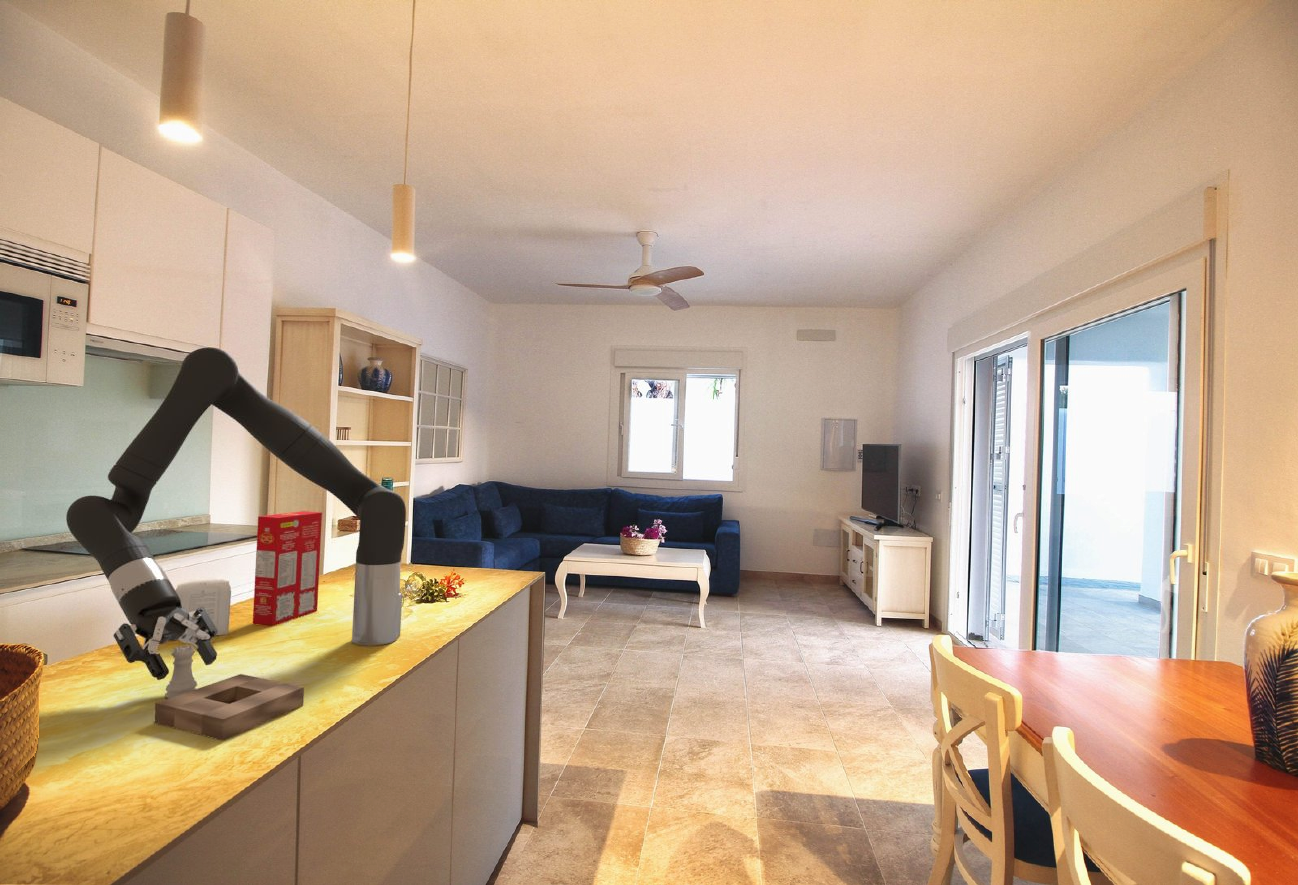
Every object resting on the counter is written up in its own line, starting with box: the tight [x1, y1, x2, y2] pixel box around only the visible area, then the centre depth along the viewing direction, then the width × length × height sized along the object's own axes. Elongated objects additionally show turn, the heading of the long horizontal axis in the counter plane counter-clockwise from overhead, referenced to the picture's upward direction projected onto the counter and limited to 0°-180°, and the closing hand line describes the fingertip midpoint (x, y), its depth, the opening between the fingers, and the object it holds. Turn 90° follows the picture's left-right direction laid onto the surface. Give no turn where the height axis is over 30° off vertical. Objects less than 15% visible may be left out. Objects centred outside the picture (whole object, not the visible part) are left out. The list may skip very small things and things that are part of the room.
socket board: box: [153, 673, 305, 741], centre depth 102 cm, size 14×14×3 cm
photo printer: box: [175, 577, 232, 638], centre depth 140 cm, size 10×4×12 cm, turn 123°
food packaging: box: [252, 510, 323, 627], centre depth 157 cm, size 15×5×25 cm, turn 169°
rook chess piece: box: [164, 644, 198, 699], centre depth 108 cm, size 4×4×8 cm
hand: (188, 668), depth 108 cm, fingers open, 7 cm apart
